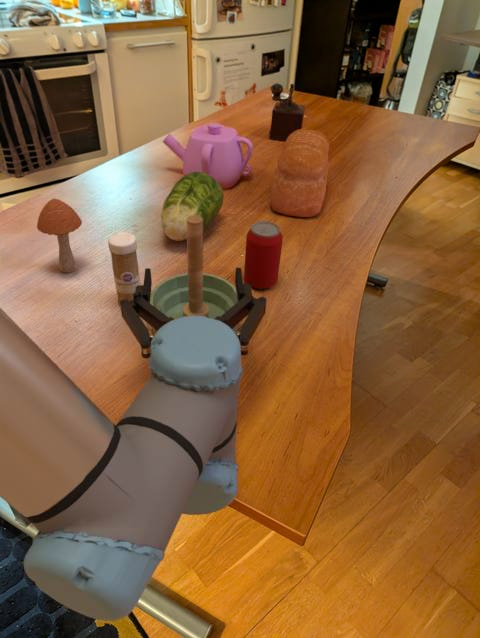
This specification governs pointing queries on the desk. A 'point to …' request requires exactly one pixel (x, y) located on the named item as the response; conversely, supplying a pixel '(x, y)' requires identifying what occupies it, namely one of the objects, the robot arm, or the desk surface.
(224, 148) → the teapot
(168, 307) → the bowl
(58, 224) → the mushroom
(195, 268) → the wooden pestle
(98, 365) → the desk surface
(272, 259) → the beverage can
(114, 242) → the sprinkles bottle
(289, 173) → the bread
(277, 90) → the coffee grinder
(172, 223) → the lettuce
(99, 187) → the desk surface
